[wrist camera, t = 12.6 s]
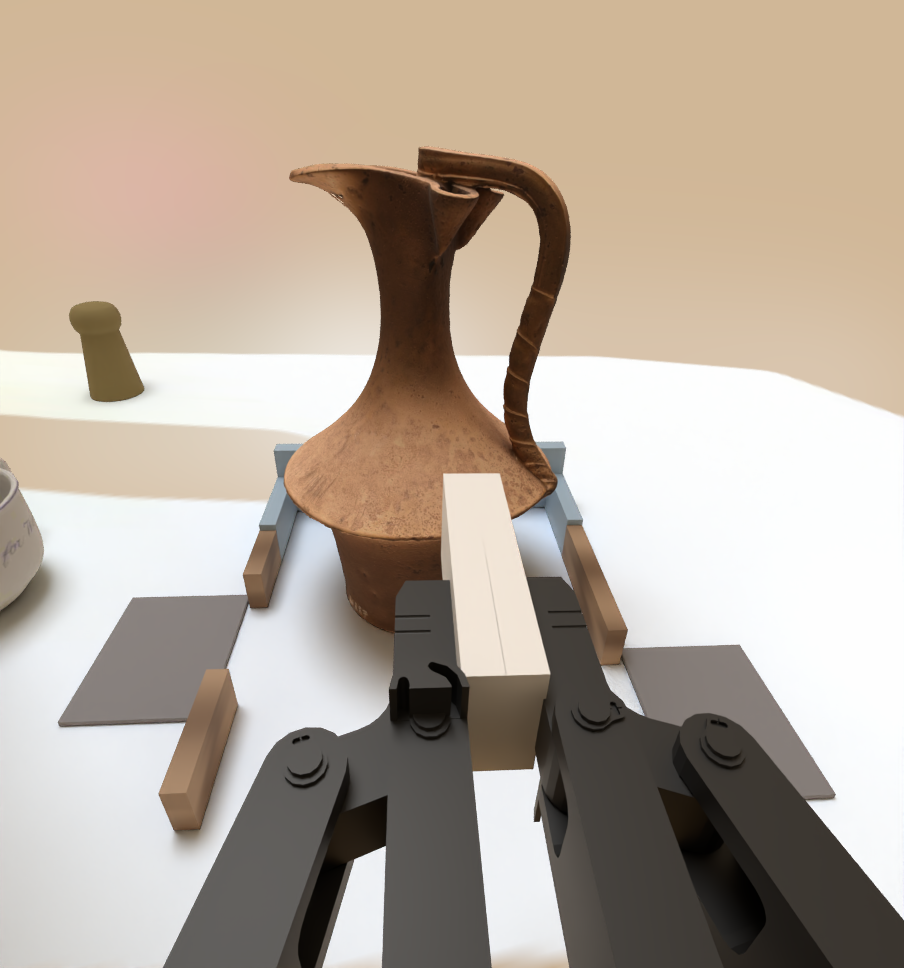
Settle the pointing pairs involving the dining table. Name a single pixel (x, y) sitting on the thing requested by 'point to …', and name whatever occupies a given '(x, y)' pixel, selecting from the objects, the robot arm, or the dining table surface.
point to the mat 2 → (722, 702)
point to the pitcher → (425, 372)
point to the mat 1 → (157, 660)
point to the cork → (105, 352)
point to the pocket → (556, 506)
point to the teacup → (16, 539)
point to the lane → (216, 695)
